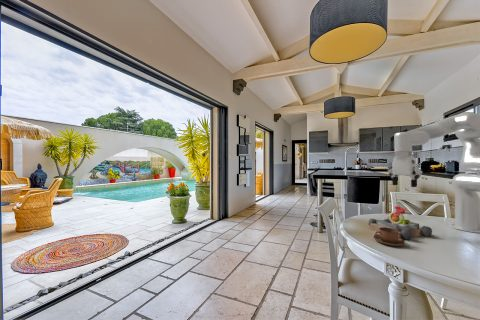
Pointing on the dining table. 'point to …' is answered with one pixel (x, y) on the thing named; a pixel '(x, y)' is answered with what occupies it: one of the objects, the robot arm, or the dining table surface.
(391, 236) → the cup and saucer
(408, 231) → the chassis
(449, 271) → the dining table surface
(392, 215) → the bird rattle
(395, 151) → the robot arm
